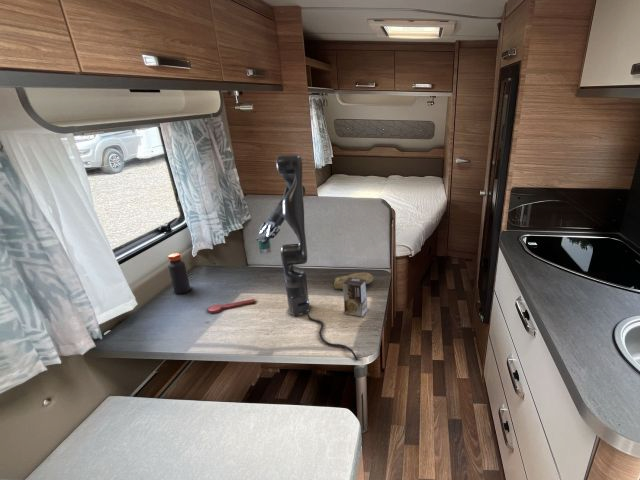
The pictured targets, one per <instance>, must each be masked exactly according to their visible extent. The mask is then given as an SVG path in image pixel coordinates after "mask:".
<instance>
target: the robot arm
mask: <svg viewBox="0 0 640 480" xmlns="http://www.w3.org/2000/svg"><path fill="white" fill-rule="evenodd" d="M275 165H276V170H277V172H278V174H279V176H280V177H281V178H282V180H284V181H285V185H286V187H285V188H284V191H283V195H282V197H281V199H280V201H279V202H278V203H277V205H276V206H275V207H274V208H273V209H272V211H271V212H270V214H269V215H268V217H267V220H268V221H267V222H265V221H263V222H262V224H261V225H260V227H259V229H258V232H259V234H260V233H267V237H265V238H264V240H263V241H262V243H264V244H266V243H267V242H268V241H269V239H274V238H276V236H277V234H278V233H279V232H280V231H281V229H280V228H279V227H281V226H282V224H283V223H284V221H285V222H286V223H287V224H288V226H289V227H290V229H291V230H292V231H293V232H294V234H295V235H296V238H297V240H298V243H287V244H283V245H282V246H281V247H280V259H281V262H282V263H281V264H282V270H283V276H284V283H285V291H286V298H287V307H288V313H289V314H290V315H292V316H293V317H298V316H302V315H306V316H307V317H308V319H309V320H310V321H312V322H316V323H319V324H321V327H320V329H319V333H318V334H319V338H320V340H321V341H322V342H323V343H324V344H326V345H328V346H332V347H333V346H334V347H342V348H345V349H346V350H348V351H349V352H350V353H351V354H352V356H353V357H354V359H355V361H358V360H359V359H358V356H357V355H356V353H355V351H353V349H352V348H350V347H349V346H347V345H345V344H339V343H331V342H328V341H326V340H325V339H324V338H323V336H322V330H323V328H324V323H323V322H322V321H321V320H318V319H314V318H312V317H311V316H310V313H309V312H310V310H311V308H310V307H311V306H310V300H309V289H308V281H307V280H308V279H307V271H306V270H305V269H304V268H302V267H299V266H297V265H305V264H306V263H307V262H308V246H307V238H306V237H307V236H306V229H305V228H306V227H305V204H304V203H305V202H304V197H305V195H306V193H307V191H306V190H307V189H306V188H305V186H304V184H303V160H302V157H301V155H299V154H280V155H277V157H276V160H275ZM255 240H256V241H258V236H257V237H256V238H255ZM360 398H361V399H360V400H361V425H362V431H365V413H364V411H365V410H364V392H362V393H361V397H360Z"/></svg>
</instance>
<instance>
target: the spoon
mask: <svg viewBox="0 0 640 480" xmlns="http://www.w3.org/2000/svg"><path fill="white" fill-rule="evenodd" d="M251 304H252V305H253V304H255V298H252V299H247V300H242V301H235V302H231V303H225V304H222V303H215V304H212V305H210V306H208V308H207V312H208V313H210V314H216V313H219V312H221V311H222V310H227V309H231V308H236V307H242V306H246V305H251Z"/></svg>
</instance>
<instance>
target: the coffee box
mask: <svg viewBox="0 0 640 480" xmlns="http://www.w3.org/2000/svg"><path fill="white" fill-rule="evenodd" d="M342 292H343V293H342V294H343V305H344V314H346V315H351V316H357V317H364V316H365V314H366V312H367V311H368V293H367V284H366V280H364V279H357V278H350V277H349V278H347V280H346V281H345V282H344V283H343V289H342Z"/></svg>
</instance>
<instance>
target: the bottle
mask: <svg viewBox="0 0 640 480" xmlns="http://www.w3.org/2000/svg"><path fill="white" fill-rule="evenodd" d="M167 259H168V261H169V264H168V265H167V267H168V272H169V276H170V279H171V283H172V287H173V291H174V293H175V294H177V295H178V294H185V293H188V292H189V291H190V290H191V284H190V281H189V276H188V271H187V268H186V264H185V262H184V261H183V260H181V259H182V258H181V254H180V253H178V252H174V253H170V254H168V255H167Z"/></svg>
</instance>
